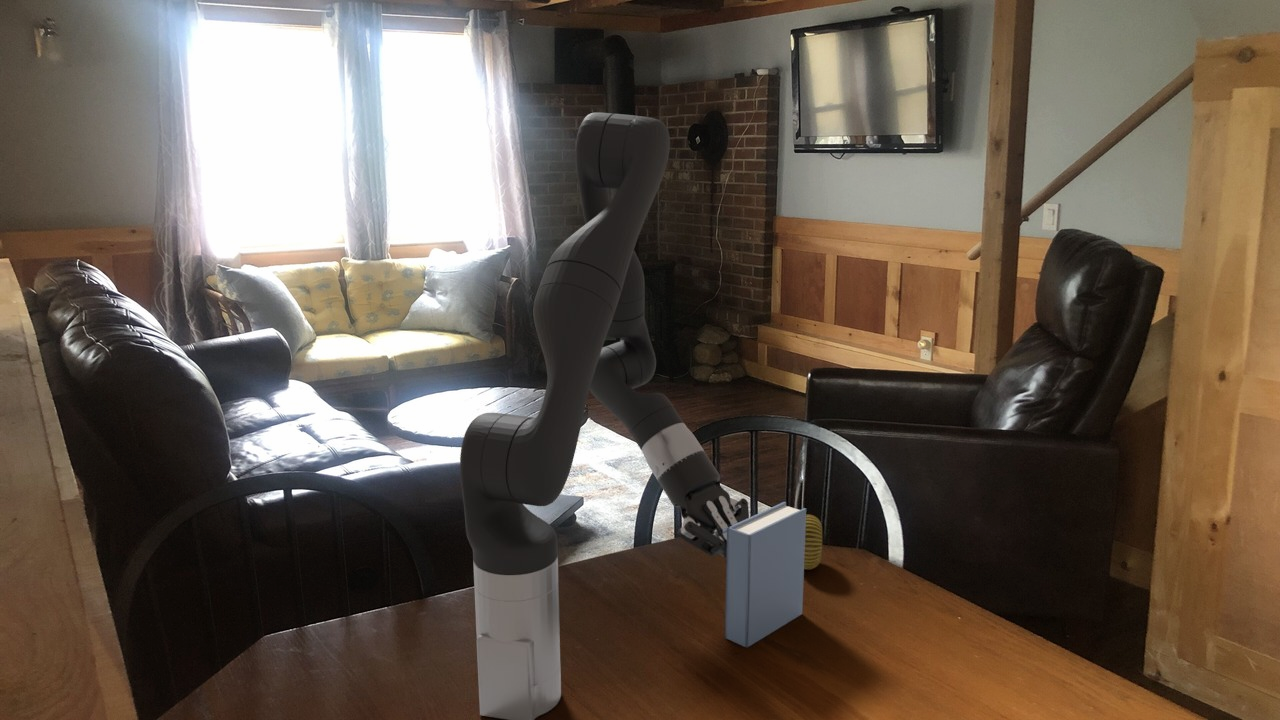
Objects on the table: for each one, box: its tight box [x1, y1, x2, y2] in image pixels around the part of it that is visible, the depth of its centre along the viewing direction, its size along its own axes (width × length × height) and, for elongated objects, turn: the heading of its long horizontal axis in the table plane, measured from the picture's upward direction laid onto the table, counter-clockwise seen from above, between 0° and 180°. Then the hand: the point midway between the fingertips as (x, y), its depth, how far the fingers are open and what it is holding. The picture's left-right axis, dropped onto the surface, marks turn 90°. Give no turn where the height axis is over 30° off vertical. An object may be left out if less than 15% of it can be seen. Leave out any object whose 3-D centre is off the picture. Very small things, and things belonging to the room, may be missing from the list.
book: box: [724, 501, 807, 648], centre depth 123 cm, size 4×12×15 cm, turn 136°
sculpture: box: [804, 513, 823, 570], centre depth 141 cm, size 8×4×8 cm, turn 171°
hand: (749, 574), depth 125 cm, fingers closed
